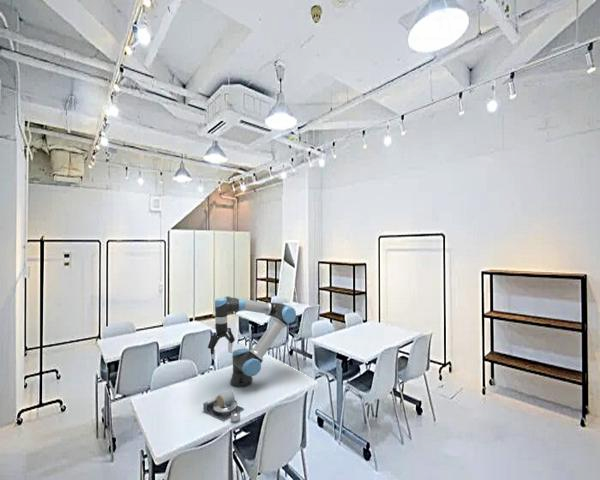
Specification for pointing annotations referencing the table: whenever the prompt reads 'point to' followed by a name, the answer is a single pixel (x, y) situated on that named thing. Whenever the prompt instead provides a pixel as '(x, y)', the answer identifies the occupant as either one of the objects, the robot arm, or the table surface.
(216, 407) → the pan
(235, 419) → the steel spacer
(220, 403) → the ceramic mug
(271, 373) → the table surface
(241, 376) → the robot arm
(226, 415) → the scale base
